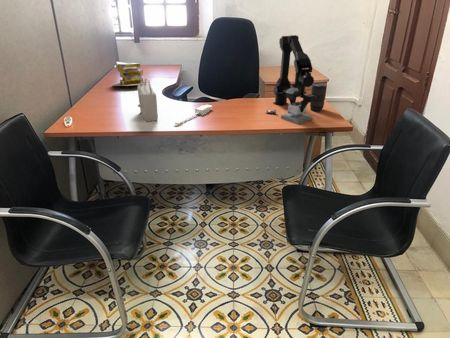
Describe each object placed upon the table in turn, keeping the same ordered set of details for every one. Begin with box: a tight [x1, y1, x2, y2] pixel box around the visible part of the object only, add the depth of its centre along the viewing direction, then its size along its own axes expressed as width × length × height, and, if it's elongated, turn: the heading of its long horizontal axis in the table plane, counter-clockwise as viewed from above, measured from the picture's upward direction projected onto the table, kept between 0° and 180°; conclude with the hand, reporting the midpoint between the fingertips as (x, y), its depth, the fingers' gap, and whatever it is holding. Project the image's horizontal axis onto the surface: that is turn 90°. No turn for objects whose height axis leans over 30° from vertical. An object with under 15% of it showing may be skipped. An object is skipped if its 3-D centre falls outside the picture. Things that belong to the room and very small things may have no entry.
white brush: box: [173, 104, 213, 127], centre depth 191 cm, size 5×32×3 cm, turn 149°
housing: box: [287, 100, 308, 116], centre depth 188 cm, size 6×8×5 cm
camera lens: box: [309, 82, 327, 112], centre depth 201 cm, size 8×8×15 cm
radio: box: [137, 68, 159, 122], centre depth 187 cm, size 22×8×25 cm, turn 21°
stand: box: [280, 112, 313, 125], centre depth 190 cm, size 12×12×2 cm
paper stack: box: [112, 61, 148, 88], centre depth 246 cm, size 25×25×17 cm
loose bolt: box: [265, 108, 277, 115], centre depth 197 cm, size 5×3×3 cm, turn 74°
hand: (297, 110), depth 189 cm, fingers closed on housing, 6 cm apart
